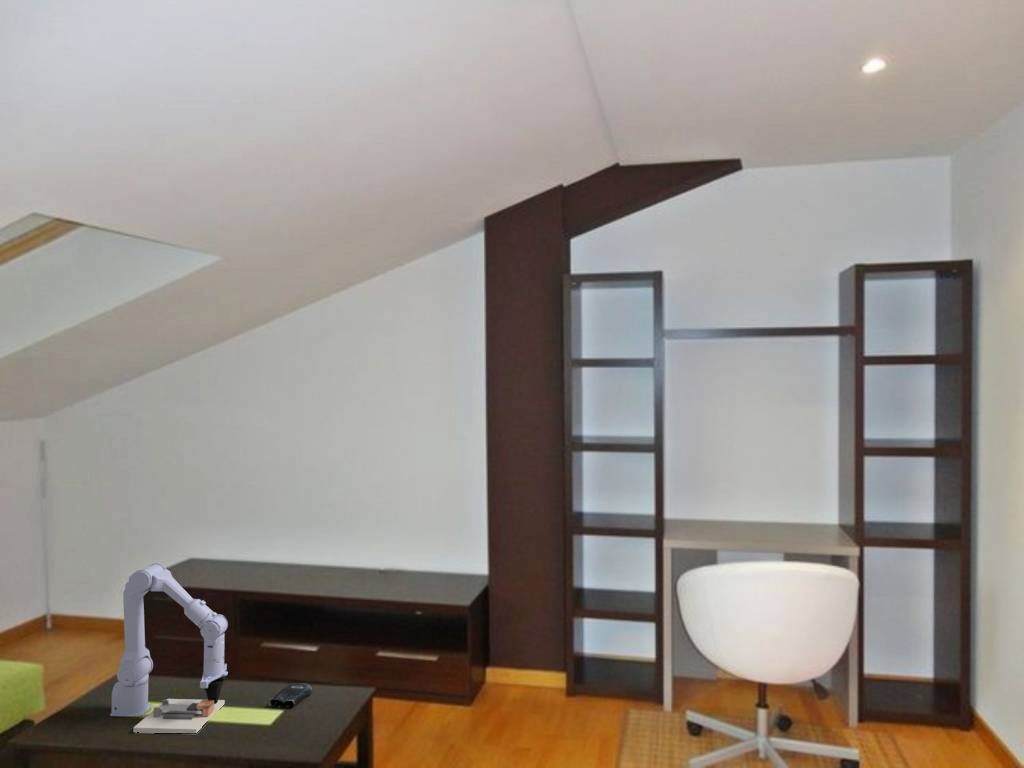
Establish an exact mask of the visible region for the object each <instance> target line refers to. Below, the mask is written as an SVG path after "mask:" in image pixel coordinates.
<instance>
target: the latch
mask: <svg viewBox="0 0 1024 768" xmlns="http://www.w3.org/2000/svg"><path fill="white" fill-rule="evenodd" d="M201 700H202V701H201V702H200V703H199V704H198V705H197V709H203V716H209V715H210V714H211V713H212V712H213V711H214V700H208V699H201Z"/></svg>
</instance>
